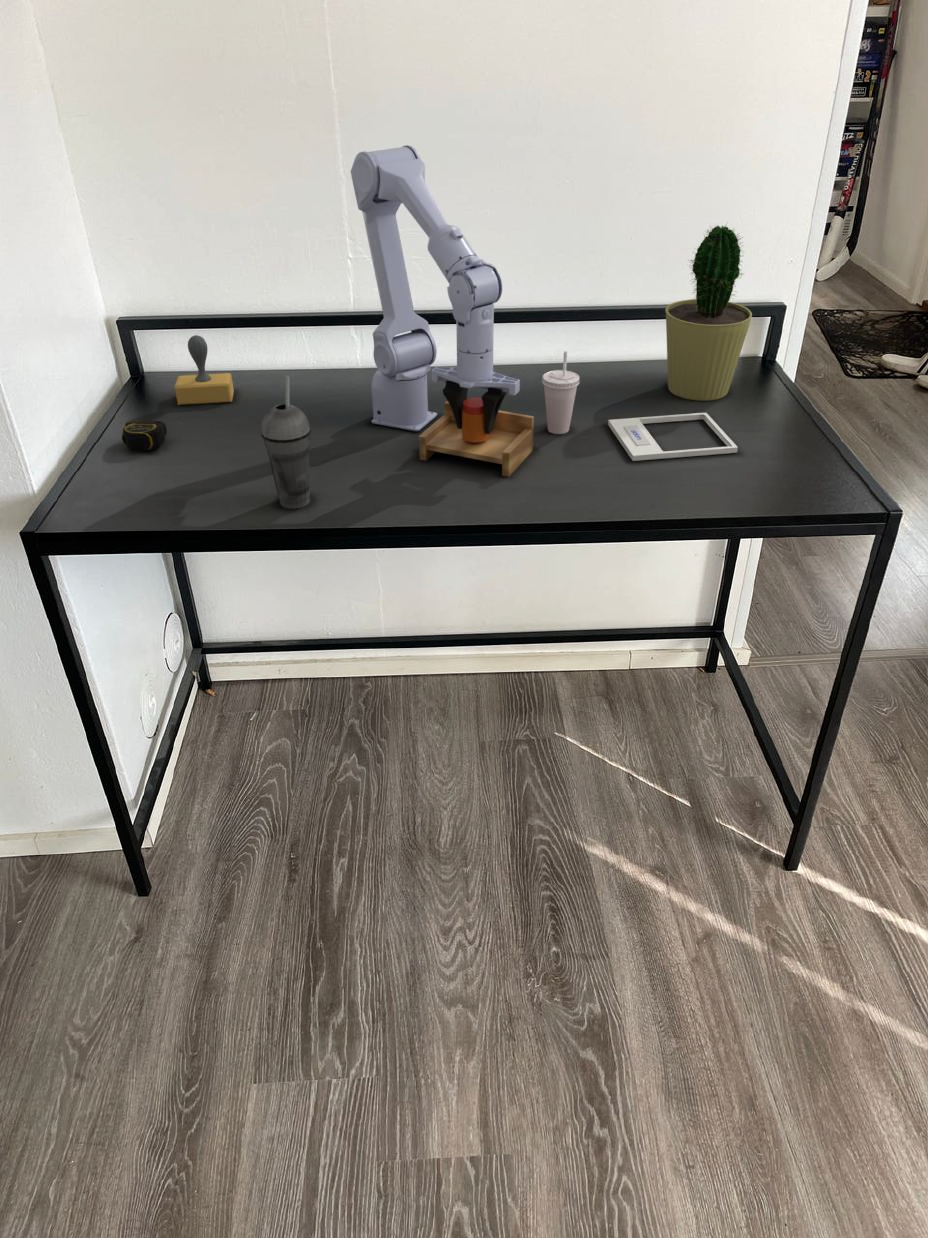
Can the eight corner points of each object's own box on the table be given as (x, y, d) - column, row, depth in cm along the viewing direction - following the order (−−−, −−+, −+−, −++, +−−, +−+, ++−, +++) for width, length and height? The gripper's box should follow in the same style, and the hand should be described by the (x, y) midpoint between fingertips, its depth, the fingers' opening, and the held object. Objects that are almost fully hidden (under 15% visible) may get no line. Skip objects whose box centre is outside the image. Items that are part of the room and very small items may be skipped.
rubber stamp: (234, 390, 182) (224, 329, 175) (231, 402, 177) (221, 339, 170) (181, 393, 181) (169, 331, 174) (177, 405, 176) (165, 342, 169)
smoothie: (574, 438, 163) (579, 359, 155) (537, 435, 164) (540, 357, 156) (578, 423, 168) (583, 346, 160) (542, 420, 169) (545, 343, 161)
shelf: (419, 459, 157) (418, 424, 153) (447, 434, 165) (446, 401, 161) (508, 477, 151) (509, 441, 148) (532, 450, 159) (534, 416, 156)
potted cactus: (655, 372, 188) (673, 211, 170) (735, 375, 186) (761, 213, 168) (657, 403, 175) (677, 232, 158) (743, 406, 173) (772, 234, 156)
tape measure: (169, 437, 165) (165, 417, 163) (162, 454, 160) (158, 433, 157) (130, 438, 165) (125, 418, 163) (121, 455, 159) (116, 435, 157)
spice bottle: (457, 439, 155) (457, 405, 151) (468, 429, 158) (468, 395, 155) (482, 444, 153) (482, 409, 150) (492, 434, 157) (493, 399, 153)
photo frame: (608, 418, 167) (706, 411, 169) (608, 424, 167) (705, 417, 169) (633, 454, 155) (738, 446, 157) (632, 460, 155) (737, 452, 158)
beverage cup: (273, 491, 148) (255, 367, 137) (319, 489, 149) (306, 365, 137) (269, 514, 142) (250, 386, 131) (317, 511, 143) (303, 384, 131)
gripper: (421, 349, 147) (424, 430, 154) (508, 362, 142) (506, 446, 149) (441, 335, 152) (443, 414, 160) (525, 347, 147) (523, 429, 155)
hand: (475, 428), depth 155 cm, fingers closed on spice bottle, 4 cm apart
